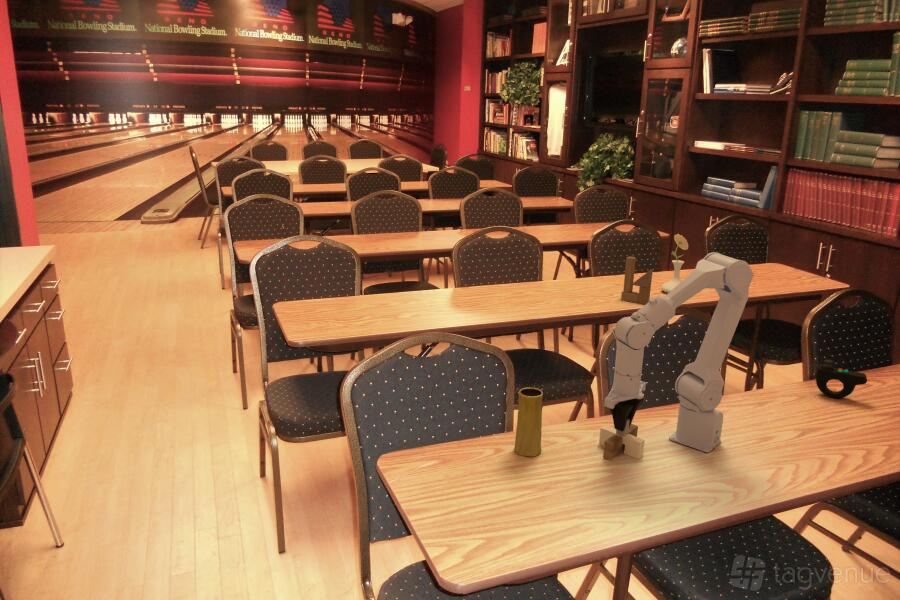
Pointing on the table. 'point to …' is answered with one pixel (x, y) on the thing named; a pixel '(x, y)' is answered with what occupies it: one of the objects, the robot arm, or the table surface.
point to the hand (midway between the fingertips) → (622, 427)
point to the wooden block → (636, 284)
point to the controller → (844, 376)
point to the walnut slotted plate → (617, 444)
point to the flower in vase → (676, 265)
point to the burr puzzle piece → (624, 440)
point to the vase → (529, 422)
